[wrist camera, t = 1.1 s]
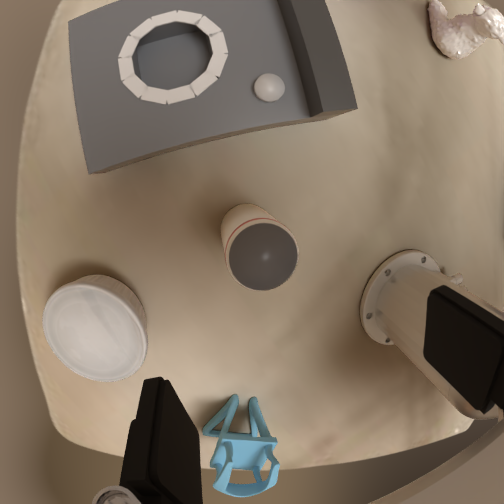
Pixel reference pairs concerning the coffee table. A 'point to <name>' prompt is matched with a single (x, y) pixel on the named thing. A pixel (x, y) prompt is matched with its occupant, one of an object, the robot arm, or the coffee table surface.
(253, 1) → the camera body
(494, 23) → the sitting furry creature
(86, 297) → the ramekin
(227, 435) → the chair
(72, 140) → the coffee table surface
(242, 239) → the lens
